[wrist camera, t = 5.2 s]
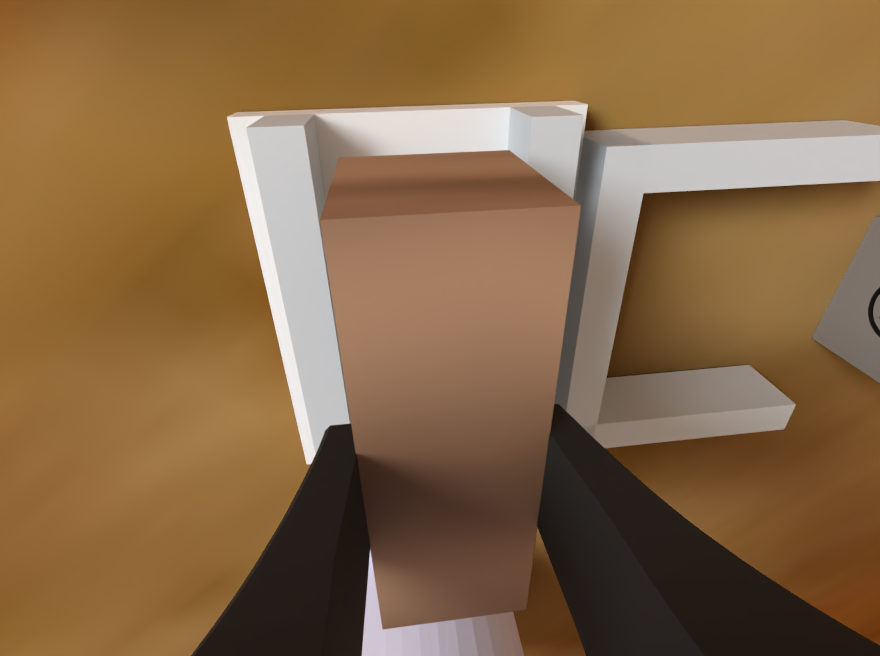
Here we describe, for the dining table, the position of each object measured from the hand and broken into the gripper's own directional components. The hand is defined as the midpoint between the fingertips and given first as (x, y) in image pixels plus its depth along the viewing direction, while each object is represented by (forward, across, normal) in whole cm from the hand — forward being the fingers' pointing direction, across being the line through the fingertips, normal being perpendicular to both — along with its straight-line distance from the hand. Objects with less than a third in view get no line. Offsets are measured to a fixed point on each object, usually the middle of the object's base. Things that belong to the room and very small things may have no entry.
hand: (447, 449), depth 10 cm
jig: (+7, -4, 0) cm, 8 cm away
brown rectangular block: (+3, 0, 0) cm, 3 cm away
